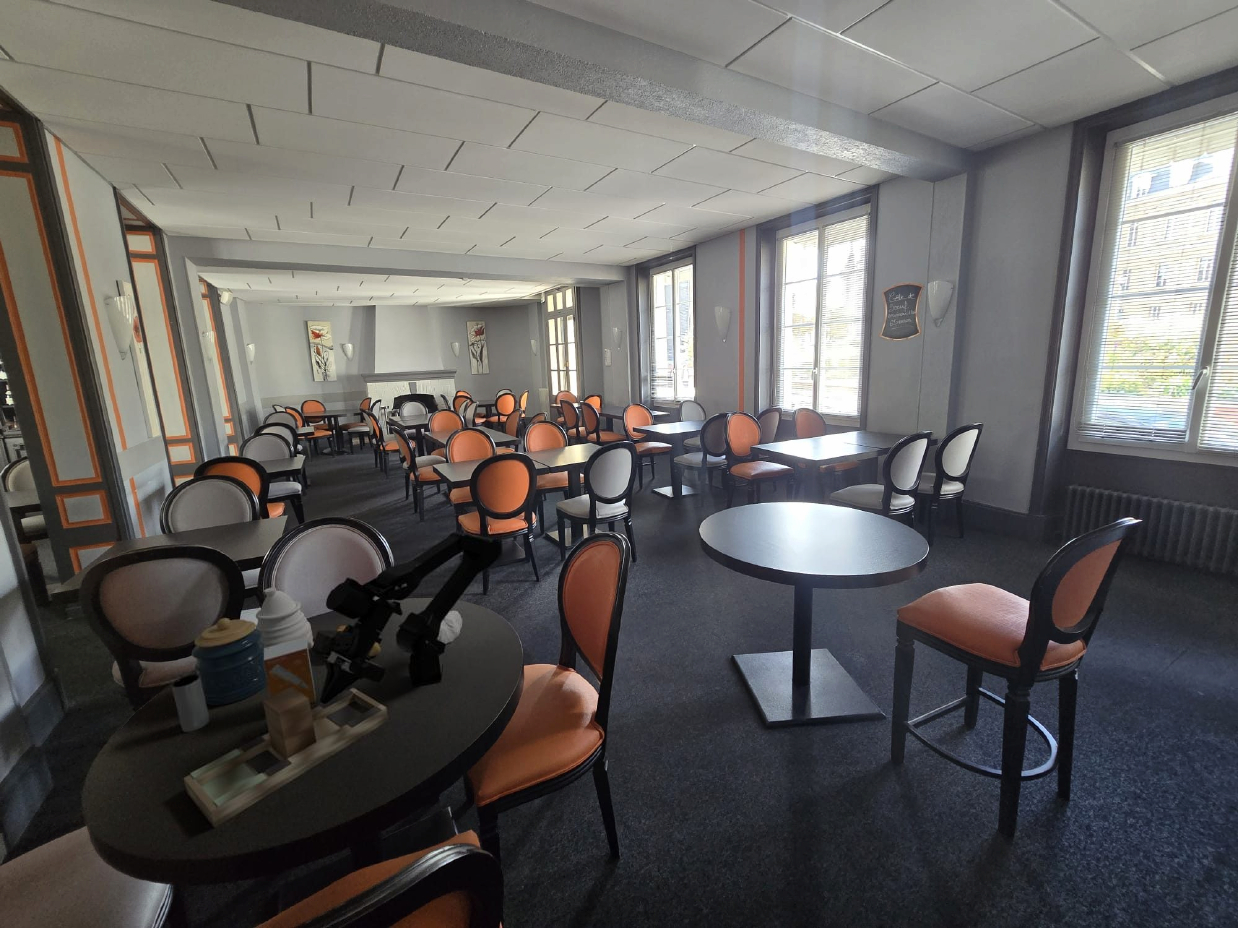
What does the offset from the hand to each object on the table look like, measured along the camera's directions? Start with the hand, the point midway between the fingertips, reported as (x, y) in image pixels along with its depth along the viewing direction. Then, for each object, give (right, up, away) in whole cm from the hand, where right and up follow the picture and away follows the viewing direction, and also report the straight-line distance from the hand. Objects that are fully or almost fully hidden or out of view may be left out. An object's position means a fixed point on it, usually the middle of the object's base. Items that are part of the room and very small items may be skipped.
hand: (322, 702), depth 103 cm
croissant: (-12, -2, +33) cm, 35 cm away
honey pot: (-30, -2, +35) cm, 46 cm away
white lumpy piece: (+12, 0, +38) cm, 39 cm away
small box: (-13, -6, +13) cm, 20 cm away
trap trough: (-3, -8, -3) cm, 9 cm away
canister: (-30, -6, +19) cm, 36 cm away
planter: (-30, -8, +7) cm, 32 cm away
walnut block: (-3, -7, -4) cm, 8 cm away
